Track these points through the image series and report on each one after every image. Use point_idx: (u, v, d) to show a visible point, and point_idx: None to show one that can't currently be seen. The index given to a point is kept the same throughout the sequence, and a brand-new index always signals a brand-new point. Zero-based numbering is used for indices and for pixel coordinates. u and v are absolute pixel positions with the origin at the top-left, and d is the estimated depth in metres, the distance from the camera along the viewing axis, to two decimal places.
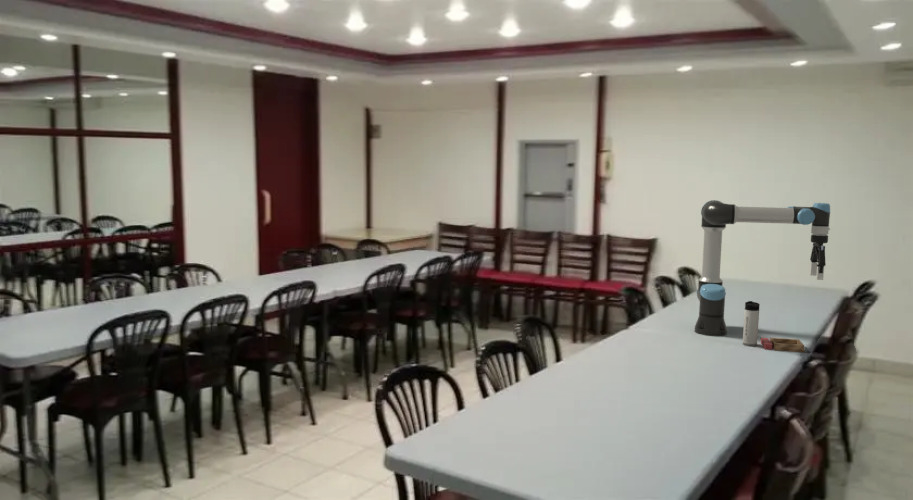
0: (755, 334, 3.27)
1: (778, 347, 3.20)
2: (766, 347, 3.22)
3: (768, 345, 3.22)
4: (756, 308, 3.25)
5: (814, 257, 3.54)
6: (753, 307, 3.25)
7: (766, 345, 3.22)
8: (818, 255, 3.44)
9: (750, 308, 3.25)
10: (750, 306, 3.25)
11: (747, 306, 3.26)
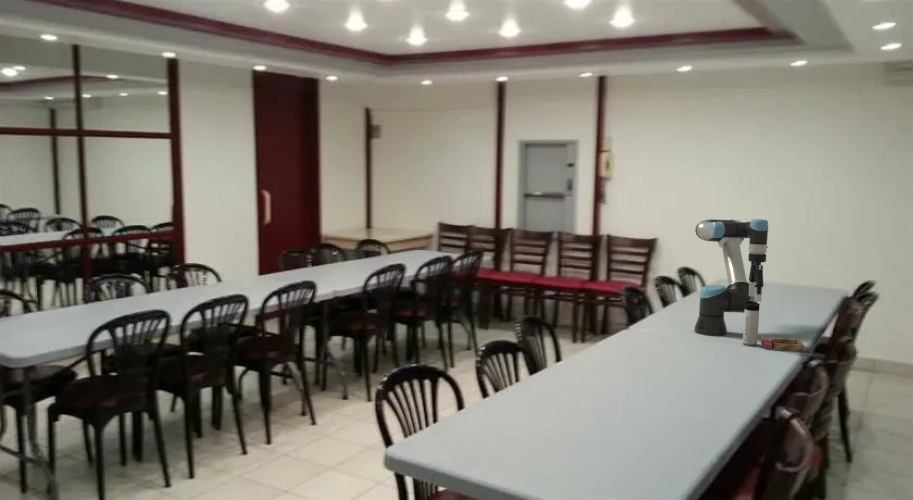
0: (755, 334, 3.27)
1: (778, 347, 3.20)
2: (766, 347, 3.22)
3: (768, 345, 3.22)
4: (756, 308, 3.25)
5: (752, 277, 3.33)
6: (753, 307, 3.25)
7: (766, 345, 3.22)
8: (756, 275, 3.23)
9: (750, 308, 3.25)
10: (750, 306, 3.25)
11: (747, 306, 3.26)
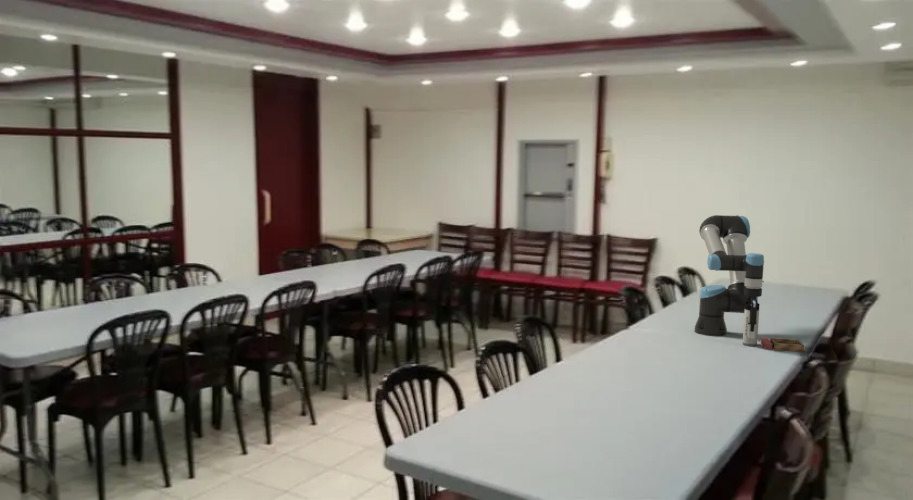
0: (755, 334, 3.27)
1: (778, 347, 3.20)
2: (766, 347, 3.22)
3: (768, 345, 3.22)
4: None
5: None
6: None
7: (766, 345, 3.22)
8: (750, 311, 3.25)
9: None
10: (750, 306, 3.25)
11: (747, 306, 3.27)
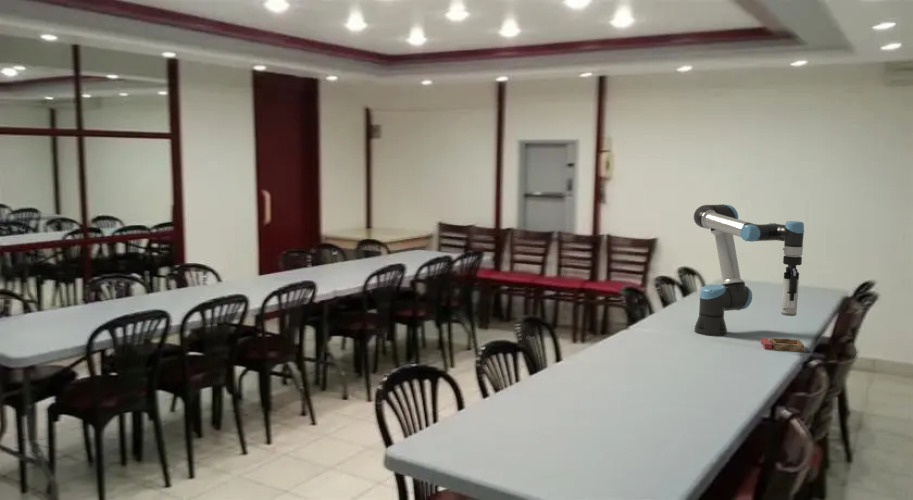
0: None
1: (778, 347, 3.20)
2: (766, 347, 3.22)
3: (768, 345, 3.22)
4: None
5: None
6: None
7: (766, 345, 3.22)
8: None
9: None
10: None
11: None
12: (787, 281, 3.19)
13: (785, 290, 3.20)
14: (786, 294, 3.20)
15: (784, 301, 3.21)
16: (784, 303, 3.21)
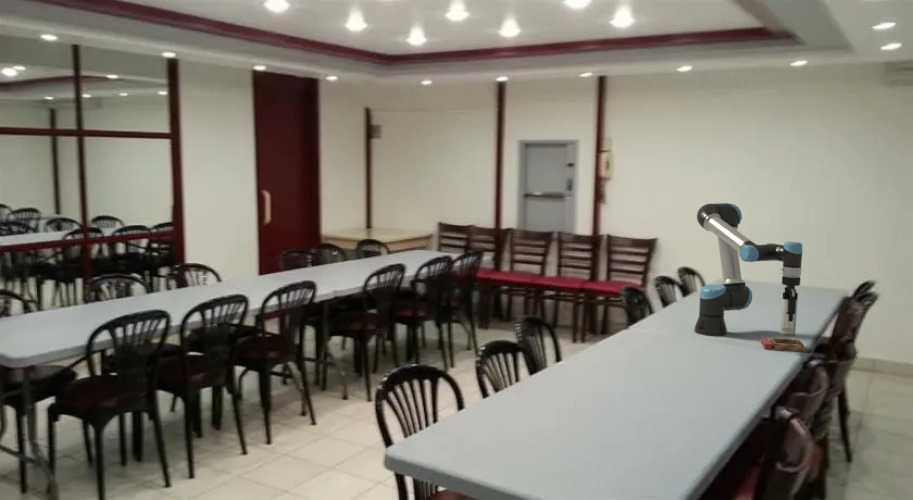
0: None
1: (778, 347, 3.20)
2: (766, 347, 3.22)
3: (768, 345, 3.22)
4: None
5: None
6: None
7: (766, 345, 3.22)
8: None
9: None
10: None
11: None
12: (786, 301, 3.20)
13: (784, 310, 3.21)
14: (785, 314, 3.21)
15: (783, 321, 3.22)
16: (783, 324, 3.22)
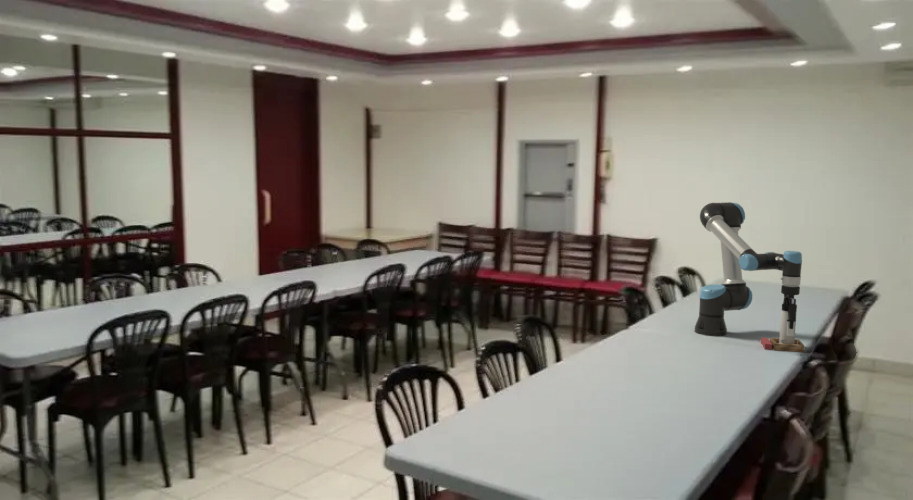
0: None
1: (778, 347, 3.20)
2: (766, 347, 3.22)
3: (768, 345, 3.22)
4: None
5: None
6: None
7: (766, 345, 3.22)
8: None
9: None
10: None
11: None
12: (785, 313, 3.21)
13: (783, 322, 3.22)
14: (784, 326, 3.22)
15: (782, 333, 3.23)
16: (782, 335, 3.23)
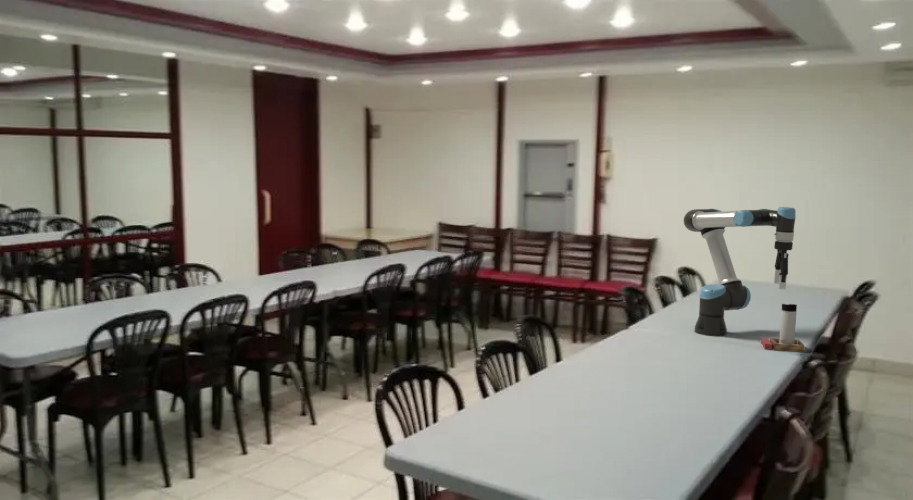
0: None
1: (778, 347, 3.20)
2: (766, 347, 3.22)
3: (768, 345, 3.22)
4: None
5: None
6: None
7: (766, 345, 3.22)
8: None
9: None
10: None
11: None
12: (785, 313, 3.21)
13: (783, 321, 3.22)
14: (784, 326, 3.22)
15: (782, 333, 3.23)
16: (782, 335, 3.23)
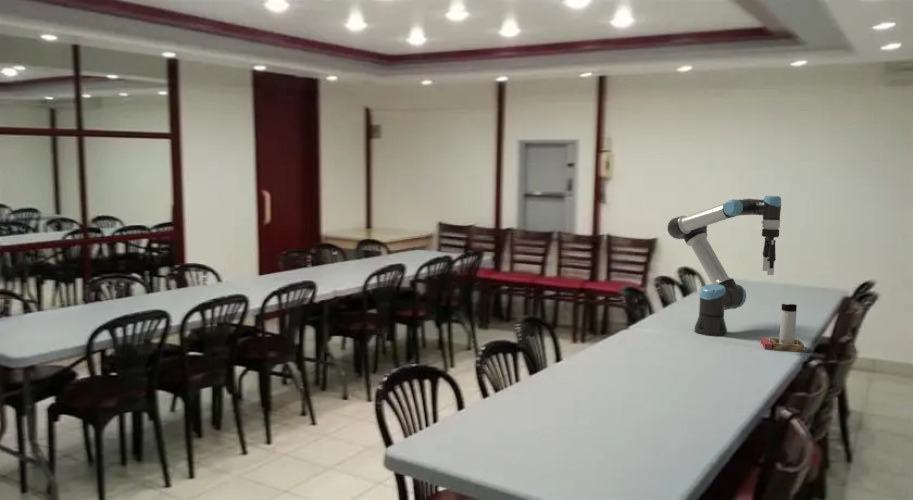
0: None
1: (778, 347, 3.20)
2: (766, 347, 3.22)
3: (768, 345, 3.22)
4: None
5: None
6: None
7: (766, 345, 3.22)
8: None
9: None
10: None
11: None
12: (785, 313, 3.21)
13: (783, 321, 3.22)
14: (784, 326, 3.22)
15: (782, 333, 3.23)
16: (782, 335, 3.23)
